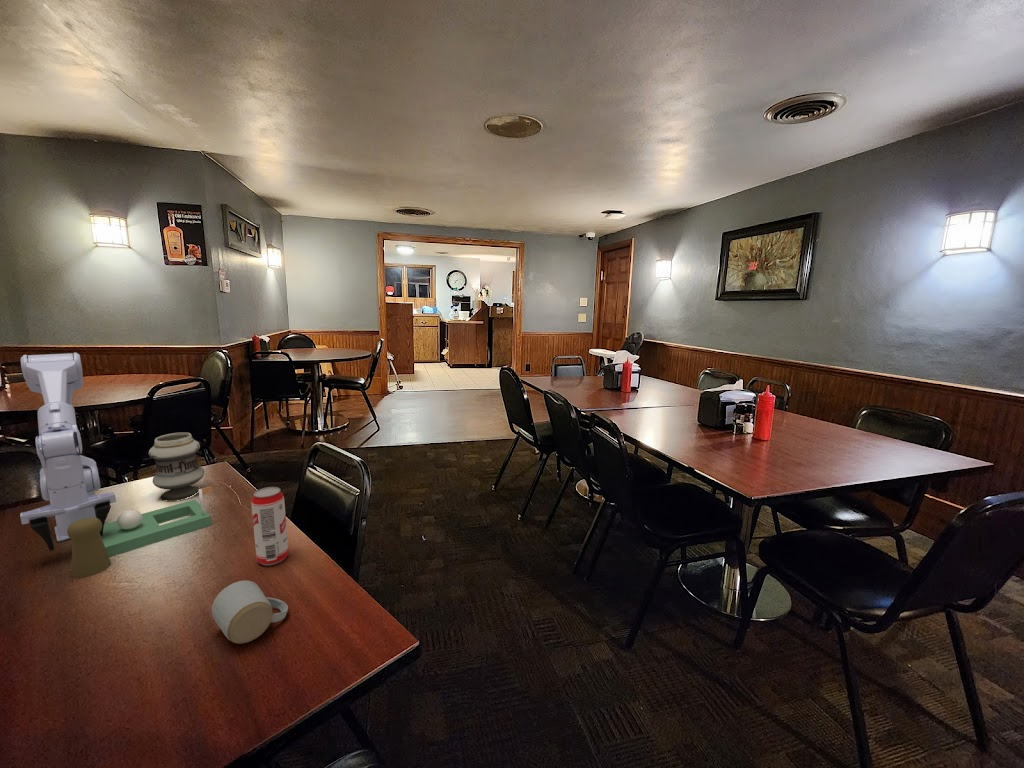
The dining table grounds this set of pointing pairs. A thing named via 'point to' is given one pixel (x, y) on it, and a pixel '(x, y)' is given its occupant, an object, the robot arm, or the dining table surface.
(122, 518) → the egg
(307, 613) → the dining table surface
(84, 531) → the cork
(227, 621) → the ceramic mug
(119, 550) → the green
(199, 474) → the apothecary jar
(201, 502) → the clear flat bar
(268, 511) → the beer can
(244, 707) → the dining table surface
